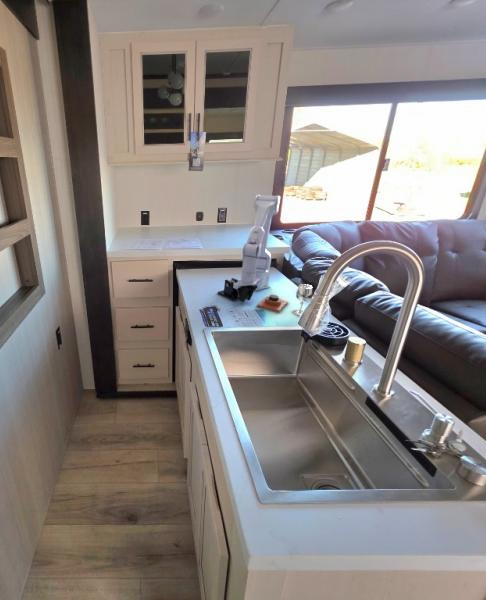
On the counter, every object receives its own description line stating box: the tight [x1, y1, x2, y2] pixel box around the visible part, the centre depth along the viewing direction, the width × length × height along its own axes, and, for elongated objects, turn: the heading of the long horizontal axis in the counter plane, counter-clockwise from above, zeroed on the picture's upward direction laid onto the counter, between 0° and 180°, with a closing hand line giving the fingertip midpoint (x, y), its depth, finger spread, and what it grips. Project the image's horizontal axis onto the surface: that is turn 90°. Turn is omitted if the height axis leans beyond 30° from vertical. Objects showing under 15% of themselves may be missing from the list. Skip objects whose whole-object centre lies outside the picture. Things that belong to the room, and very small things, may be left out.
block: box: [257, 295, 289, 313], centre depth 136 cm, size 12×9×3 cm
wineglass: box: [293, 283, 313, 316], centre depth 127 cm, size 6×6×12 cm
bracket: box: [217, 277, 240, 302], centre depth 144 cm, size 10×7×8 cm
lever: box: [229, 279, 249, 301], centre depth 141 cm, size 12×3×3 cm, turn 31°
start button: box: [269, 294, 280, 301], centre depth 135 cm, size 4×4×2 cm
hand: (244, 300), depth 139 cm, fingers closed on lever, 3 cm apart
